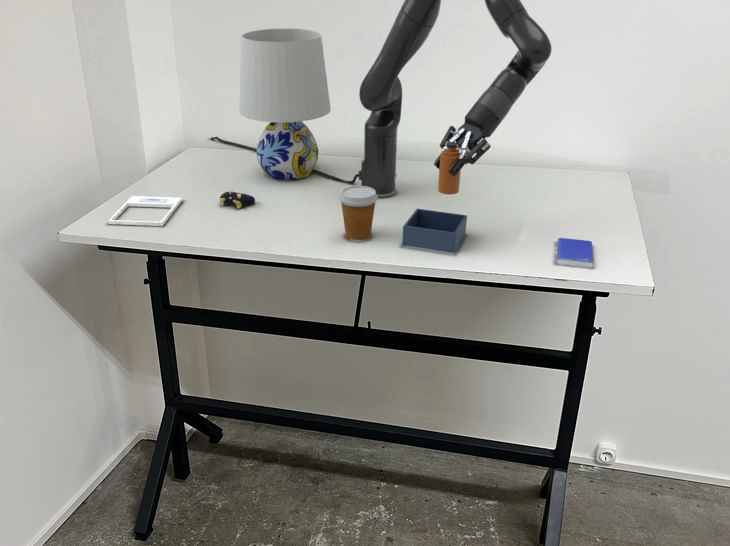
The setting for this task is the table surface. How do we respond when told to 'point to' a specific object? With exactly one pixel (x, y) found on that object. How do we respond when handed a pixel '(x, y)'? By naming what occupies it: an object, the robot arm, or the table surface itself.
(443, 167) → the bottle
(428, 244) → the tote
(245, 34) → the table lamp
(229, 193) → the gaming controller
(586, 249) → the blue book
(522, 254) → the table surface
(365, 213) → the disposable coffee cup
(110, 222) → the photo frame
